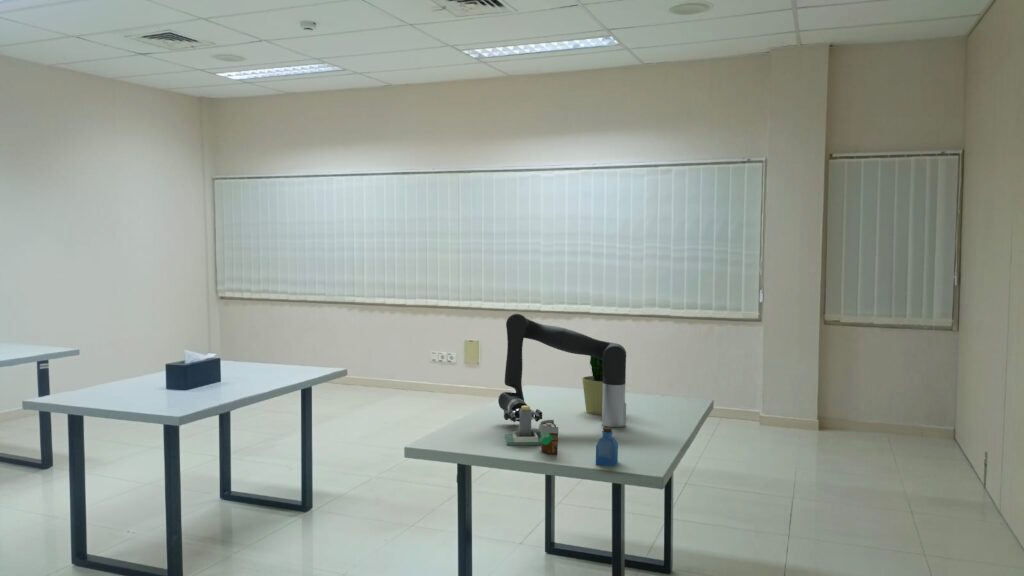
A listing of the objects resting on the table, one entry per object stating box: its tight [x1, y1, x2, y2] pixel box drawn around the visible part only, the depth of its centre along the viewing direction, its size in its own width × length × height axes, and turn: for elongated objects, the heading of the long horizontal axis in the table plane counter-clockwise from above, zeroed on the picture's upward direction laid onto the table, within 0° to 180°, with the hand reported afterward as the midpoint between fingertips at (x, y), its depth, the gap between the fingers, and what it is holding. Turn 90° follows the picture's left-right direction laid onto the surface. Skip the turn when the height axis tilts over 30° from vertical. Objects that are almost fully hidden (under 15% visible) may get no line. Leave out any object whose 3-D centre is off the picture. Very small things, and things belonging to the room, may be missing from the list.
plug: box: [518, 405, 532, 437], centre depth 272 cm, size 4×4×12 cm
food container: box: [538, 419, 559, 456], centre depth 261 cm, size 12×6×10 cm, turn 5°
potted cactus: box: [581, 356, 603, 415], centre depth 326 cm, size 15×15×30 cm
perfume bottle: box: [595, 426, 619, 467], centre depth 247 cm, size 6×6×12 cm
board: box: [504, 428, 541, 446], centre depth 274 cm, size 14×12×3 cm
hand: (526, 419), depth 271 cm, fingers open, 8 cm apart
